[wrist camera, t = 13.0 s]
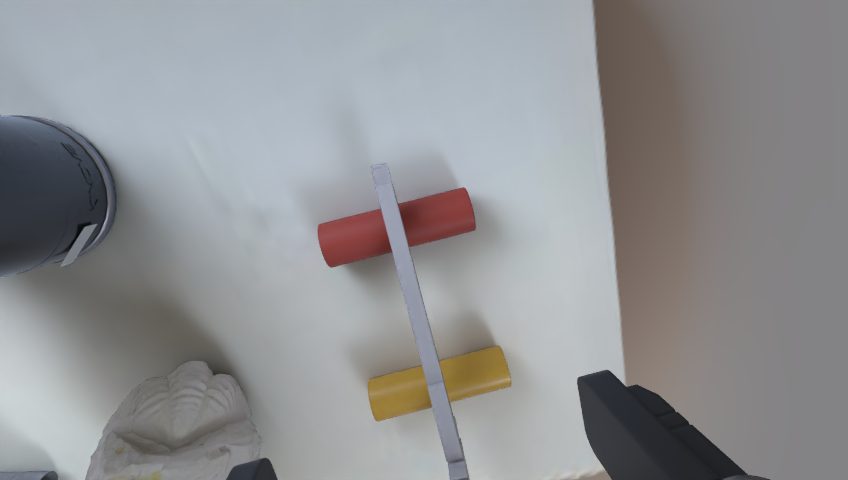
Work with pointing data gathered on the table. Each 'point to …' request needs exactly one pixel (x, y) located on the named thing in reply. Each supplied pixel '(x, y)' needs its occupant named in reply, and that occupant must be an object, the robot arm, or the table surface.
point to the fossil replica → (178, 429)
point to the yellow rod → (460, 378)
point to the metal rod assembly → (29, 475)
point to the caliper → (420, 324)
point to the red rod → (419, 220)
